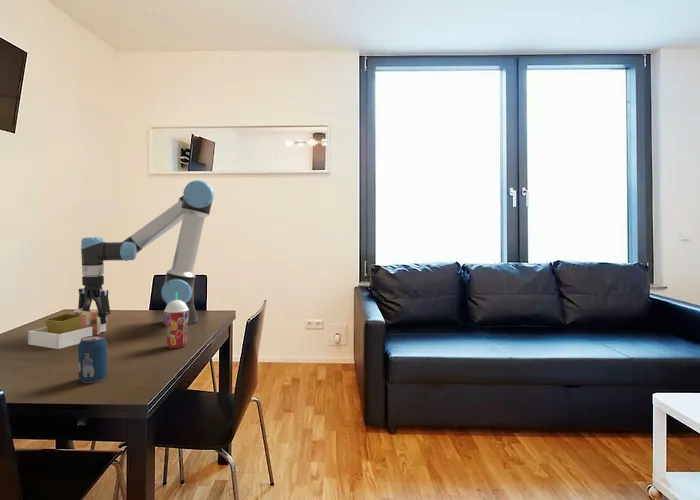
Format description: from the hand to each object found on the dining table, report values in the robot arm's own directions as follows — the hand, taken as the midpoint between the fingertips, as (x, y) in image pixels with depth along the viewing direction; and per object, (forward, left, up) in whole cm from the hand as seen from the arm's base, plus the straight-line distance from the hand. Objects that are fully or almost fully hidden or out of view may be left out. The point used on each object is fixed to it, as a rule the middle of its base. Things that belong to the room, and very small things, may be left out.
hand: (94, 330), depth 169 cm
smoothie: (-45, +3, -1) cm, 45 cm away
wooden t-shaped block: (-1, +2, -1) cm, 2 cm away
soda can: (-46, +38, -1) cm, 60 cm away
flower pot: (0, +12, -1) cm, 12 cm away
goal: (0, +14, -1) cm, 14 cm away
